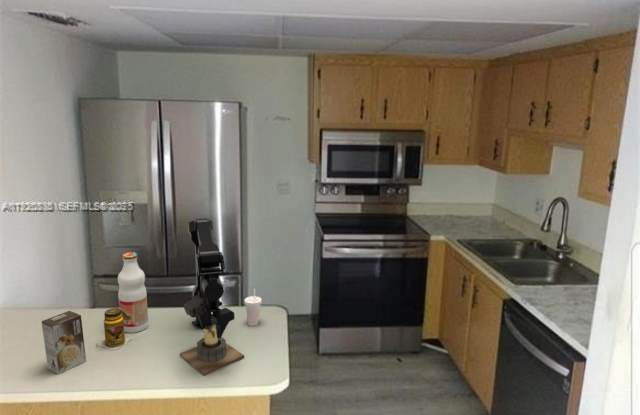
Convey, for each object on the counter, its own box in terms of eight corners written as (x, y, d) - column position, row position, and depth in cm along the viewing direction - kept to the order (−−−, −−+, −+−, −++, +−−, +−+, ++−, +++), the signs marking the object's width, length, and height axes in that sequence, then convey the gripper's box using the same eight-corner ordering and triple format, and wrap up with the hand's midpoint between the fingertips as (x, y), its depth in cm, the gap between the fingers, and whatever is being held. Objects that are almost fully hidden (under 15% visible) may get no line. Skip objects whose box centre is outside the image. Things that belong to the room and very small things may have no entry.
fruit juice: (148, 331, 171) (144, 257, 165) (120, 335, 168) (114, 259, 161) (148, 319, 180) (143, 249, 173) (121, 323, 177) (115, 251, 170)
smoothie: (258, 328, 175) (258, 293, 172) (242, 326, 177) (241, 291, 173) (264, 320, 182) (264, 286, 178) (248, 318, 183) (247, 284, 179)
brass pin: (202, 353, 156) (201, 328, 153) (213, 349, 159) (213, 324, 156) (209, 359, 152) (208, 333, 150) (221, 354, 156) (220, 329, 153)
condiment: (116, 350, 158) (113, 317, 156) (95, 345, 161) (92, 313, 158) (131, 339, 165) (128, 308, 162) (111, 335, 168) (108, 304, 165)
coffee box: (75, 355, 155) (70, 309, 151) (86, 361, 151) (82, 314, 148) (46, 368, 147) (40, 320, 143) (58, 375, 144) (52, 326, 140)
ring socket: (179, 355, 156) (178, 342, 155) (219, 340, 166) (218, 327, 165) (203, 375, 145) (203, 361, 144) (244, 358, 156) (244, 344, 154)
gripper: (171, 285, 151) (174, 330, 155) (203, 304, 138) (204, 353, 142) (203, 276, 159) (204, 319, 162) (235, 294, 146) (235, 340, 149)
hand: (211, 332), depth 154 cm, fingers open, 9 cm apart
